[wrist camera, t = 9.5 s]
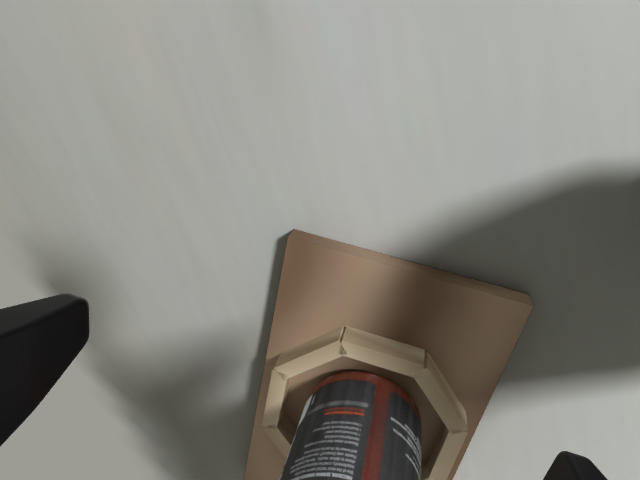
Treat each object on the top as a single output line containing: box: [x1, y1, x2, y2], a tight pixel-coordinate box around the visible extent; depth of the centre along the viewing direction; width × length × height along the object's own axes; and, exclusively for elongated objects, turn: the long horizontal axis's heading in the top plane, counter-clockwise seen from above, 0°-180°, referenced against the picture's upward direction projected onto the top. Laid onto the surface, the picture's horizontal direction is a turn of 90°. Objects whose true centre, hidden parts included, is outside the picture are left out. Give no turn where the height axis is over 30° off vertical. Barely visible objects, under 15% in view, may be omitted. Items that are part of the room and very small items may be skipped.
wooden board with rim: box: [244, 229, 533, 480], centre depth 24 cm, size 11×17×2 cm, turn 169°
